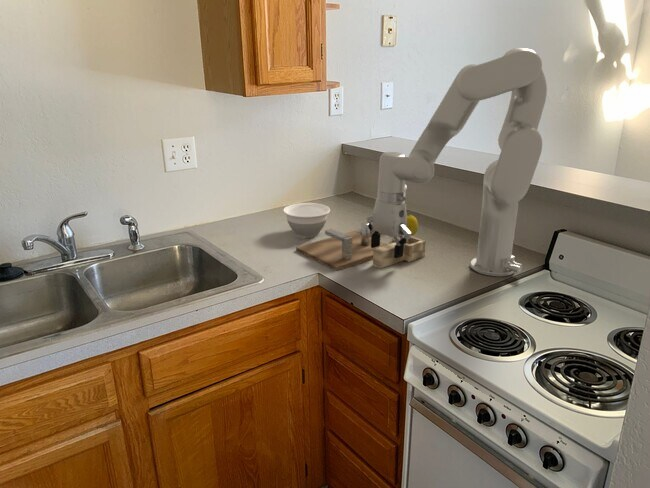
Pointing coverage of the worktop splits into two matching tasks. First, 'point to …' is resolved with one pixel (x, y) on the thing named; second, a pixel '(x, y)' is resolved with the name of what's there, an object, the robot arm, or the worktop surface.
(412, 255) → the link
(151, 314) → the worktop surface
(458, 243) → the worktop surface
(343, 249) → the bracket
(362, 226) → the ball
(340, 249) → the board
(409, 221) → the lemon
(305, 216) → the bowl
